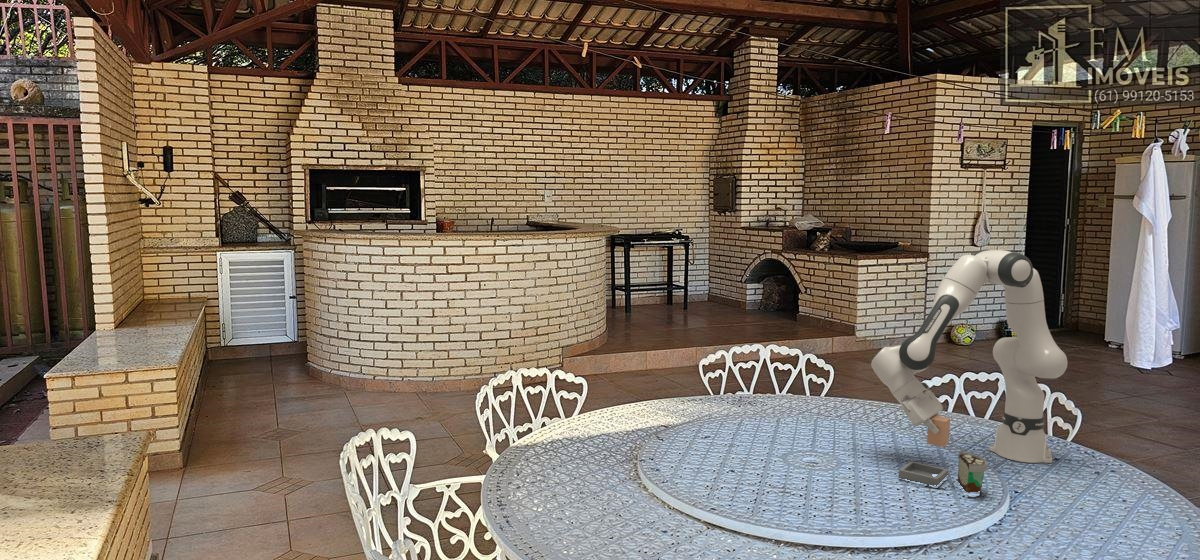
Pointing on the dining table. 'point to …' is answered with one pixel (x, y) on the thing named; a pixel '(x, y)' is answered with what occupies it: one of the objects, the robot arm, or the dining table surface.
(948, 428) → the tan rounded block
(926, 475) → the tray
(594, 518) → the dining table surface
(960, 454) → the food container
